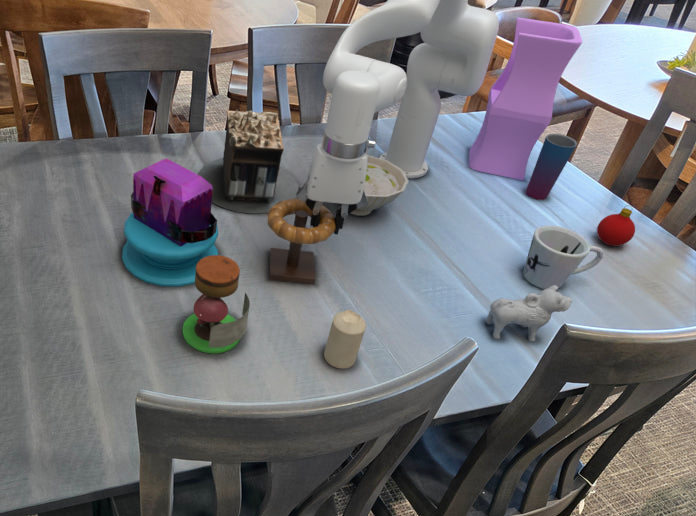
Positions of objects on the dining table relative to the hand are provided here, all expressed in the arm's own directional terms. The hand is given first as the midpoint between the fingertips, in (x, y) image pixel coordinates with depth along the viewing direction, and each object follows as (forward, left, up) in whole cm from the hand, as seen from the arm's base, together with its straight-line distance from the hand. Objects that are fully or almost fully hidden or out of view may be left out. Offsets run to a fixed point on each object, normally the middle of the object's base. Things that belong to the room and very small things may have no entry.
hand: (325, 228), depth 122 cm
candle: (+24, +3, -11) cm, 26 cm away
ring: (0, -5, +1) cm, 5 cm away
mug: (-5, +50, -11) cm, 51 cm away
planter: (-31, -15, -11) cm, 36 cm away
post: (0, -5, -11) cm, 12 cm away
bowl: (-26, +11, -11) cm, 30 cm away
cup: (-40, +57, -11) cm, 70 cm away
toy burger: (+22, -20, -11) cm, 31 cm away
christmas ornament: (-21, +67, -11) cm, 71 cm away
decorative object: (0, -30, -11) cm, 32 cm away
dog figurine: (+12, +37, -11) cm, 40 cm away
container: (-55, +51, -11) cm, 76 cm away
